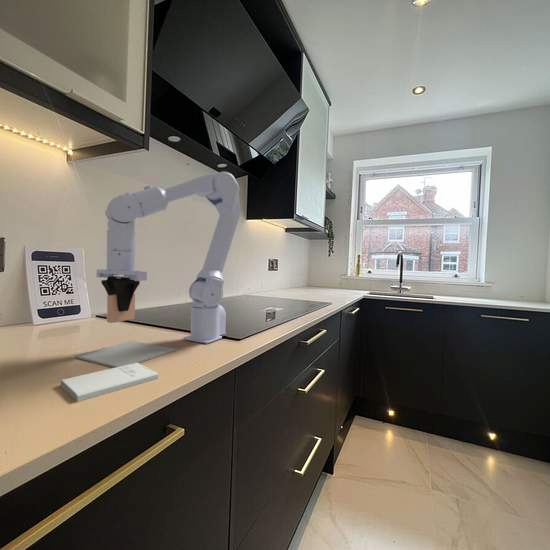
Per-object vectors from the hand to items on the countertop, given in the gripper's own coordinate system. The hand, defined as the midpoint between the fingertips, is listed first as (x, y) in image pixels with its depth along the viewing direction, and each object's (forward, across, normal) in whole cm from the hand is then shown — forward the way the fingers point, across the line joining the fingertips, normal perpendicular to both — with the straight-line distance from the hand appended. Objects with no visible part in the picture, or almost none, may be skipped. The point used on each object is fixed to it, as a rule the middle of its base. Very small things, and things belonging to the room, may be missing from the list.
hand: (120, 310), depth 68 cm
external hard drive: (+10, +15, -13) cm, 22 cm away
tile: (+2, 0, 0) cm, 2 cm away
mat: (+9, +5, -2) cm, 10 cm away
